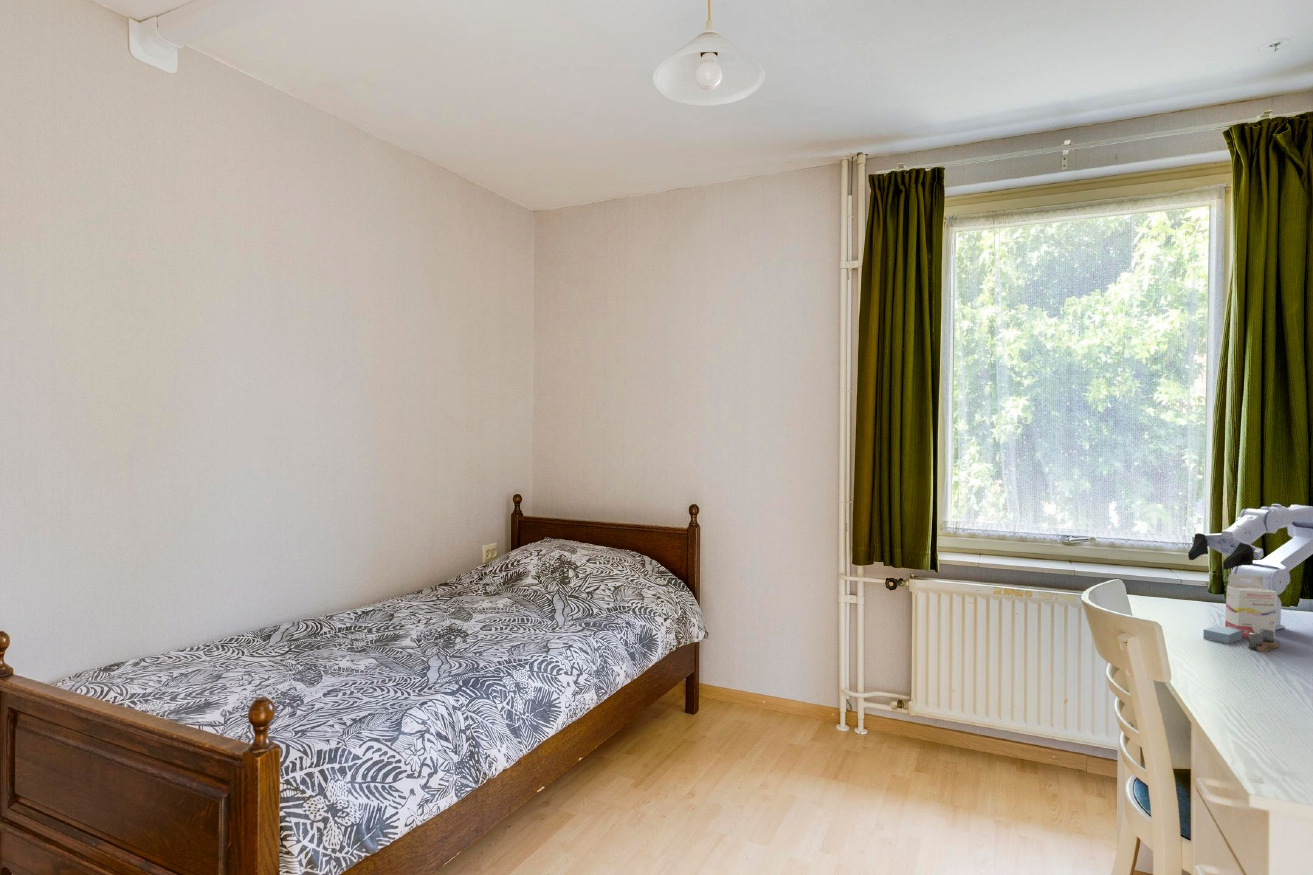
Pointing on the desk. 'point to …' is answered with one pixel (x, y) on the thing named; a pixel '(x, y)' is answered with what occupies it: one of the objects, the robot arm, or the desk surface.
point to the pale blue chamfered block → (1222, 634)
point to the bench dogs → (1262, 641)
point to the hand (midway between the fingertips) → (1207, 561)
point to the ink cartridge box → (1250, 605)
